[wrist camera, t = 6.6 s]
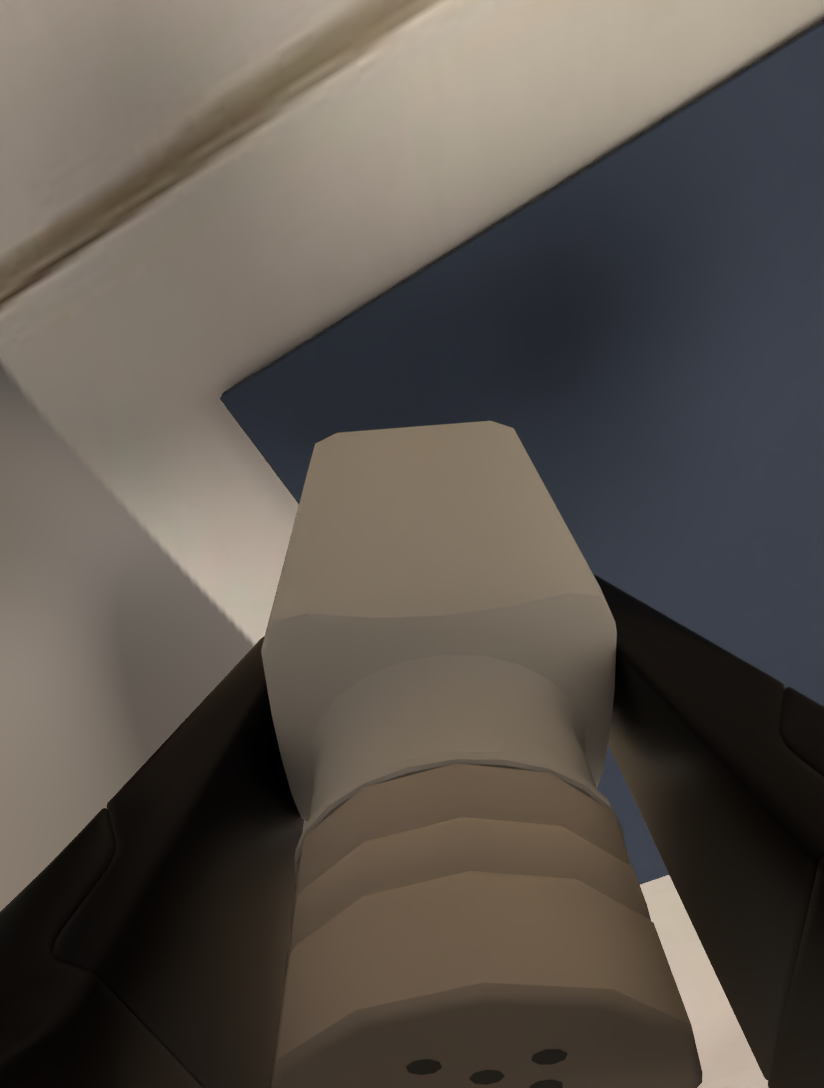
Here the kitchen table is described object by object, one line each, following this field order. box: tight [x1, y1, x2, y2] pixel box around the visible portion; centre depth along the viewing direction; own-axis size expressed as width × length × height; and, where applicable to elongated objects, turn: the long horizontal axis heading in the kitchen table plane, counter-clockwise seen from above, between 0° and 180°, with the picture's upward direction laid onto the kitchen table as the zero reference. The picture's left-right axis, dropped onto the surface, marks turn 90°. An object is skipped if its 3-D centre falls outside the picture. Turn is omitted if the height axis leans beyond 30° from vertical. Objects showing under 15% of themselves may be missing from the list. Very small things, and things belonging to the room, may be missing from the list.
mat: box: [220, 20, 824, 885], centre depth 21 cm, size 28×18×1 cm, turn 30°
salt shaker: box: [261, 421, 702, 1088], centre depth 9 cm, size 4×4×10 cm
